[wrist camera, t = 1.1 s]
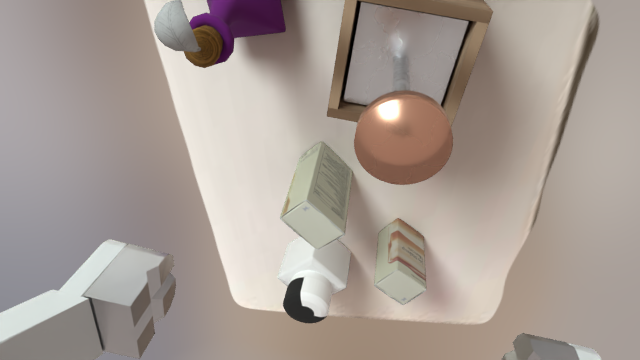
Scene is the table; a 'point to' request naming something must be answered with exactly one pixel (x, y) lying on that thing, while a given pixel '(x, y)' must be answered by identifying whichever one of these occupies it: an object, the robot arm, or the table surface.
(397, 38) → the table lamp
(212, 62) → the perfume bottle
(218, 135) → the table surface
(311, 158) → the skincare box
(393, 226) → the skincare box
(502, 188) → the table surface
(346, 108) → the wooden box
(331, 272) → the medicine bottle
